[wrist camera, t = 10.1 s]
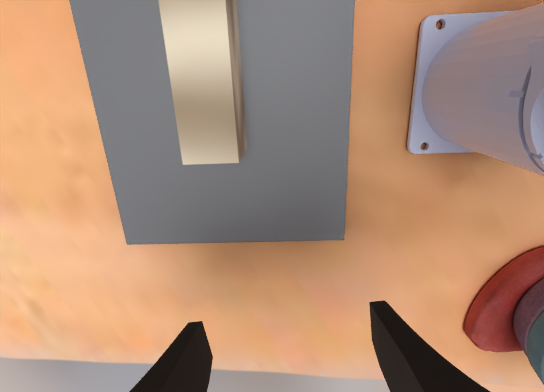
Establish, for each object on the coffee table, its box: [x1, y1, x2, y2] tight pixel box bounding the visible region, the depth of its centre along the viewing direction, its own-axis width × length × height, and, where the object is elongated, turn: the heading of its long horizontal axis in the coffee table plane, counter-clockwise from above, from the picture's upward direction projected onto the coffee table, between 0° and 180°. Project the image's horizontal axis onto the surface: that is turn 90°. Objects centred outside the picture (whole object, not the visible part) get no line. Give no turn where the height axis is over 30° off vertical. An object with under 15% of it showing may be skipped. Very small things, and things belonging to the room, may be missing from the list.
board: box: [69, 0, 355, 245], centre depth 18 cm, size 16×28×1 cm, turn 3°
